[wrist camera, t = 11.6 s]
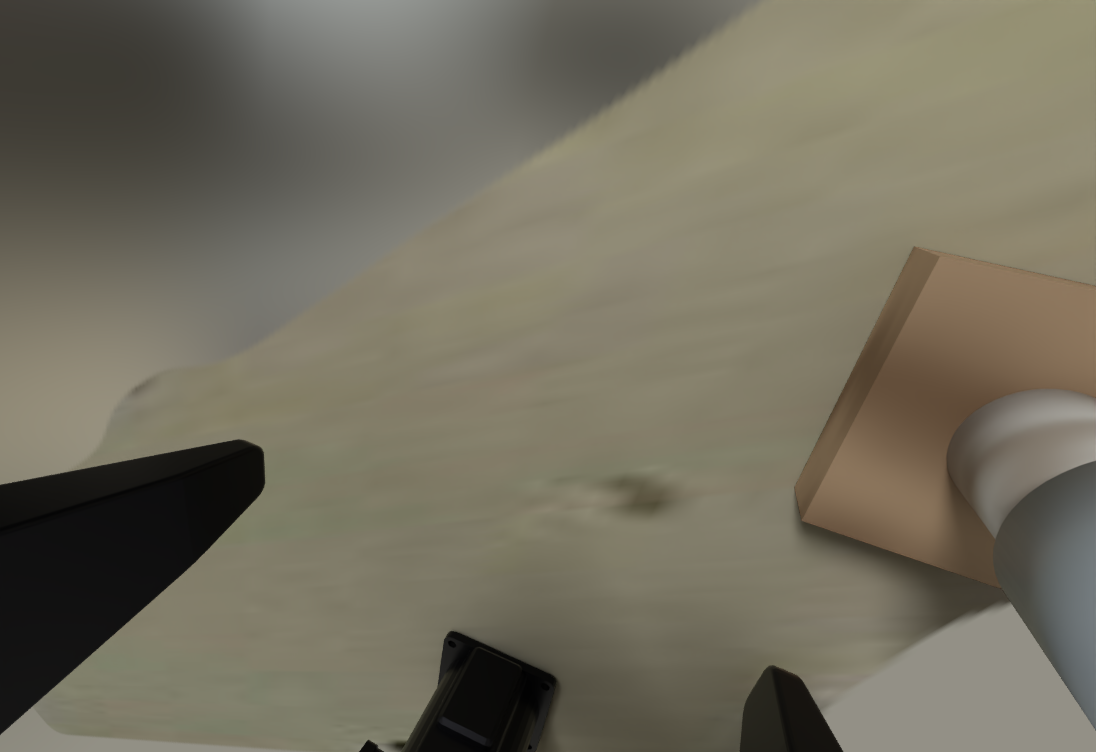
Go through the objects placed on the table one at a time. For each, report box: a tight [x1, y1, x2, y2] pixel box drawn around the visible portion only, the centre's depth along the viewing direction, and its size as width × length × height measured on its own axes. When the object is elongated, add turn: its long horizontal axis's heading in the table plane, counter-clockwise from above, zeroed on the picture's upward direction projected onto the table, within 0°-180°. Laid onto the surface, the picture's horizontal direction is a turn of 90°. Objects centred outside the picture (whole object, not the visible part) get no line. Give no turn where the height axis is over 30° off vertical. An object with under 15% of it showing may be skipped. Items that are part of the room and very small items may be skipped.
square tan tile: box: [795, 247, 1096, 589], centre depth 13 cm, size 9×9×6 cm
